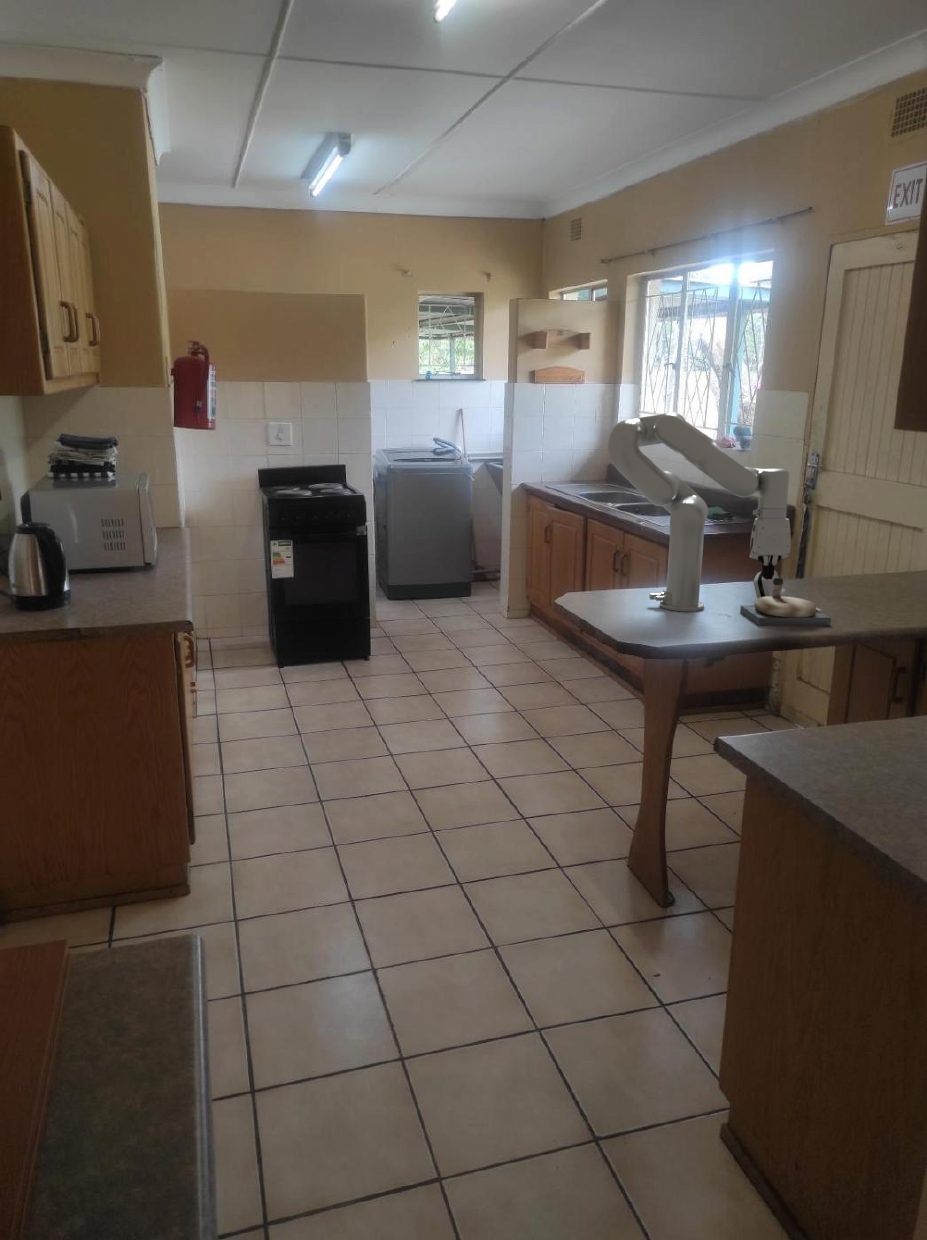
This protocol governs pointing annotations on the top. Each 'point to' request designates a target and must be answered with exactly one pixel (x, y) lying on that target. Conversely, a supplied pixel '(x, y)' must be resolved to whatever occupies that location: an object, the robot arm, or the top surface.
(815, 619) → the wheel base
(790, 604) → the wheel
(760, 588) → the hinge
